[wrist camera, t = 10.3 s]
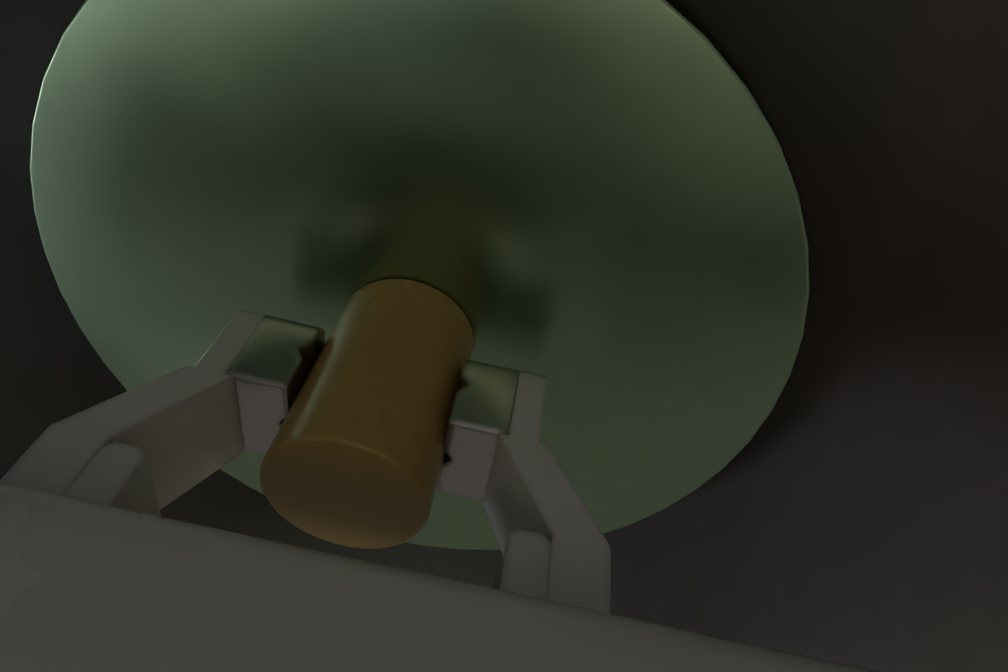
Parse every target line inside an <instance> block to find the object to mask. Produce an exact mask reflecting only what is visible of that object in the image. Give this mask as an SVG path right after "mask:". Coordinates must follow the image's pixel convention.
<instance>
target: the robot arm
mask: <svg viewBox="0 0 1008 672" xmlns="http://www.w3.org/2000/svg"><path fill="white" fill-rule="evenodd" d="M324 345H325V331H324V330H323V329H322V328H319V327H315V326H311V325H307V324H303V323H299V322H294V321H290V320H286V319H282V318H278V317H274V316H270V315H269V316H267V315H263V314H259V313H255V312H251V311H246V310H242V309H241V310H239V311H238V312H236V313H234V314H233V316H232V317H231V318H230V320H229V321H228V322H227V324H226V325H225V326H224V328H223V329H222V330H221V332H220V333H219V334H218V336H217V337H216V338H215V340H214V341H213V342H212V344H211V345H210V346H209V348H208V349H207V350H206V352H205V353H204V354H203V356H202V357H201V358H200V360H199V361H198V362H197V364H196V365H195V366H194V367H189V366H184V367H182V368H179V369H177V370H175V371H172V372H170V373H168V374H166V375H163V376H161V377H159V378H156V379H154V380H152V381H150V382H147V383H145V384H143V385H140V386H138V387H136V388H134V389H131V390H129V391H127V392H124V393H122V394H120V395H118V396H115V397H113V398H111V399H108V400H106V401H104V402H102V403H99V404H97V405H95V406H92V407H90V408H88V409H86V410H83V411H81V412H79V413H76V414H74V415H72V416H70V417H67V418H65V419H63V420H60V421H58V422H56V423H54V424H51V425H49V427H48V428H47V429H46V430H45V431H44V432H43V433H42V434H41V435H40V436H39V438H38V439H37V440H36V441H35V442H34V443H33V444H32V445H31V446H30V447H29V449H28V450H27V451H26V452H25V453H24V454H23V455H22V456H21V457H20V458H19V459H18V461H17V462H16V463H15V464H14V465H13V466H12V467H11V468H10V469H9V470H8V472H7V473H6V474H5V475H4V476H3V477H2V478H1V479H0V672H878V671H874V670H869V669H864V668H860V667H855V666H850V665H846V664H841V663H837V662H832V661H827V660H823V659H818V658H813V657H809V656H804V655H800V654H795V653H790V652H786V651H781V650H776V649H772V648H767V647H763V646H758V645H753V644H749V643H744V642H739V641H735V640H730V639H726V638H721V637H716V636H712V635H707V634H702V633H698V632H693V631H688V630H684V629H679V628H675V627H670V626H665V625H661V624H656V623H651V622H647V621H642V620H638V619H633V618H628V617H624V616H619V615H614V614H610V587H611V547H610V545H609V543H608V542H607V540H606V538H605V537H604V535H603V534H602V532H601V530H600V529H599V527H598V525H597V524H596V522H595V520H594V519H593V517H592V515H591V514H590V512H589V511H588V509H587V507H586V506H585V504H584V502H583V501H582V499H581V497H580V496H579V494H578V493H577V491H576V489H575V488H574V486H573V484H572V483H571V481H570V479H569V478H568V476H567V475H566V473H565V471H564V470H563V468H562V466H561V465H560V463H559V461H558V460H557V458H556V456H555V455H554V453H553V452H552V450H551V448H550V447H549V445H548V444H545V443H541V442H540V439H541V430H542V422H543V414H544V405H545V397H546V388H547V380H548V379H547V376H546V375H542V374H537V373H532V372H527V371H522V370H520V371H519V370H515V369H510V368H506V367H501V366H496V365H491V364H486V363H482V362H477V361H472V360H467V359H466V360H465V363H464V366H463V370H462V373H461V378H460V384H459V389H458V391H457V392H456V395H455V399H454V403H453V407H452V410H451V414H450V418H449V422H448V428H447V433H446V439H445V444H444V449H445V451H446V453H445V457H444V461H443V464H442V468H441V472H440V476H439V481H438V488H437V490H438V491H443V492H447V493H451V494H455V495H459V496H463V497H467V498H471V499H475V500H480V501H483V503H482V504H483V506H484V509H485V511H486V514H487V516H488V519H489V521H490V524H491V526H492V529H493V531H494V534H495V537H496V539H497V542H498V544H499V547H500V549H501V552H502V554H503V555H502V558H501V562H500V565H499V568H498V571H497V575H496V578H495V581H494V584H493V588H489V587H485V586H480V585H475V584H471V583H466V582H461V581H457V580H452V579H447V578H443V577H438V576H433V575H429V574H424V573H419V572H415V571H410V570H405V569H401V568H396V567H391V566H387V565H382V564H378V563H373V562H368V561H364V560H359V559H354V558H350V557H345V556H340V555H336V554H331V553H326V552H322V551H317V550H313V549H308V548H303V547H299V546H294V545H289V544H285V543H280V542H276V541H271V540H266V539H262V538H257V537H252V536H248V535H243V534H239V533H234V532H229V531H225V530H220V529H215V528H211V527H206V526H202V525H197V524H192V523H188V522H183V521H178V520H174V519H169V518H165V517H162V516H161V512H160V510H161V509H162V508H164V507H165V506H167V505H168V504H169V503H171V502H172V501H174V500H175V499H177V498H178V497H180V496H181V495H182V494H184V493H185V492H187V491H188V490H190V489H191V488H193V487H194V486H195V485H197V484H198V483H200V482H201V481H203V480H204V479H205V478H207V477H208V476H210V475H211V474H213V473H214V472H216V471H217V470H218V469H220V468H221V467H223V466H224V465H226V464H227V463H229V462H230V461H231V460H233V459H234V458H236V457H237V456H239V455H240V454H242V453H243V450H248V451H253V452H259V453H264V454H266V453H267V451H268V449H269V447H270V446H271V444H272V442H273V440H274V438H275V436H276V434H277V433H278V431H279V429H280V427H281V425H282V423H283V421H284V420H285V418H286V416H287V414H288V412H289V410H290V408H291V406H292V405H293V403H294V401H295V399H296V397H297V395H298V393H299V392H300V390H301V388H302V386H303V384H304V382H305V380H306V379H307V377H308V375H309V373H310V371H311V369H312V367H313V365H314V364H315V362H316V360H317V358H318V356H319V354H320V352H321V351H322V349H323V347H324Z"/></svg>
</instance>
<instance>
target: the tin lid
mask: <svg viewBox="0 0 1008 672" xmlns="http://www.w3.org/2000/svg"><path fill="white" fill-rule="evenodd" d="M29 173H30V182H31V191H32V201H33V210H34V214H35V218H36V222H37V226H38V230H39V234H40V238H41V242H42V246H43V250H44V253H45V256H46V258H47V261H48V263H49V266H50V268H51V271H52V273H53V276H54V278H55V281H56V283H57V286H58V288H59V291H60V293H61V295H62V297H63V299H64V300H65V302H66V304H67V306H68V308H69V310H70V311H71V313H72V315H73V317H74V319H75V321H76V323H77V324H78V326H79V328H80V330H81V331H82V333H83V334H84V335H85V337H86V338H87V340H88V341H89V343H90V344H91V346H92V347H93V349H94V350H95V351H96V353H97V354H98V356H99V357H100V359H101V360H102V362H103V363H104V364H105V365H106V367H107V368H108V369H109V370H110V371H111V372H112V374H113V375H114V376H115V377H116V378H117V380H118V381H119V382H120V383H121V384H122V386H123V387H124V388H125V389H126V390H127V391H129V390H131V389H134V388H136V387H138V386H140V385H143V384H145V383H147V382H150V381H152V380H154V379H156V378H159V377H161V376H163V375H166V374H168V373H170V372H172V371H175V370H177V369H179V368H182V367H184V366H189V367H194V366H195V365H196V364H197V362H198V361H199V360H200V358H201V357H202V356H203V354H204V353H205V352H206V350H207V349H208V348H209V346H210V345H211V344H212V342H213V341H214V340H215V338H216V337H217V336H218V334H219V333H220V332H221V330H222V329H223V328H224V326H225V325H226V324H227V322H228V321H229V320H230V318H231V317H232V316H233V314H234V313H236V312H238V311H239V310H241V309H242V310H246V311H251V312H255V313H259V314H263V315H267V316H269V315H270V316H274V317H278V318H282V319H286V320H290V321H294V322H299V323H303V324H307V325H311V326H315V327H319V328H322V329H323V330H324V331H325V345H324V347H323V349H322V351H321V352H320V354H319V356H318V358H317V360H316V362H315V364H314V365H313V367H312V369H311V371H310V373H309V375H308V377H307V379H306V380H305V382H304V384H303V386H302V388H301V390H300V392H299V393H298V395H297V397H296V399H295V401H294V403H293V405H292V406H291V408H290V410H289V412H288V414H287V416H286V418H285V420H284V421H283V423H282V425H281V427H280V429H279V431H278V433H277V434H276V436H275V438H274V440H273V442H272V444H271V446H270V447H269V449H268V451H267V453H266V454H264V453H259V452H253V451H248V450H243V453H242V454H240V455H239V456H237V457H236V458H234V459H233V460H231V461H230V462H229V463H227V464H226V465H224V466H223V467H221V468H220V470H222V471H223V472H225V473H227V474H228V475H230V476H232V477H233V478H235V479H237V480H238V481H240V482H242V483H243V484H245V485H247V486H248V487H250V488H252V489H254V490H256V491H258V492H260V493H262V494H264V495H265V496H266V498H267V500H268V501H269V503H270V504H271V505H272V506H273V508H274V509H275V510H276V511H277V512H278V513H279V514H280V515H281V516H283V517H284V518H285V519H286V520H287V521H289V522H290V523H292V524H293V525H295V526H296V527H298V528H300V529H301V530H303V531H305V532H307V533H309V534H311V535H313V536H315V537H318V538H320V539H323V540H326V541H329V542H332V543H335V544H339V545H343V546H349V547H356V548H385V547H391V546H395V545H399V544H401V543H404V542H405V543H410V544H416V545H421V546H430V547H439V548H449V549H459V550H501V549H500V547H499V544H498V542H497V539H496V537H495V534H494V531H493V529H492V526H491V524H490V521H489V519H488V516H487V514H486V511H485V509H484V506H483V504H482V503H483V501H480V500H475V499H471V498H467V497H463V496H459V495H455V494H451V493H447V492H443V491H438V490H437V488H438V481H439V476H440V472H441V468H442V464H443V461H444V457H445V453H446V451H445V449H444V444H445V439H446V433H447V428H448V422H449V418H450V414H451V410H452V407H453V403H454V399H455V395H456V392H457V391H458V389H459V384H460V378H461V373H462V370H463V366H464V363H465V360H466V359H467V360H472V361H477V362H482V363H486V364H491V365H496V366H501V367H506V368H510V369H515V370H519V371H520V370H522V371H527V372H532V373H537V374H542V375H546V376H547V379H548V380H547V388H546V397H545V405H544V414H543V422H542V430H541V439H540V442H541V443H545V444H548V445H549V447H550V448H551V450H552V452H553V453H554V455H555V456H556V458H557V460H558V461H559V463H560V465H561V466H562V468H563V470H564V471H565V473H566V475H567V476H568V478H569V479H570V481H571V483H572V484H573V486H574V488H575V489H576V491H577V493H578V494H579V496H580V497H581V499H582V501H583V502H584V504H585V506H586V507H587V509H588V511H589V512H590V514H591V515H592V517H593V519H594V520H595V522H596V524H597V525H598V527H599V529H600V530H601V532H602V534H604V533H607V532H610V531H613V530H616V529H619V528H622V527H625V526H628V525H631V524H634V523H636V522H638V521H640V520H642V519H644V518H647V517H649V516H651V515H653V514H655V513H658V512H660V511H662V510H664V509H666V508H667V507H669V506H671V505H672V504H674V503H676V502H677V501H679V500H681V499H682V498H684V497H686V496H687V495H689V494H691V493H692V492H694V491H696V490H697V489H698V488H699V487H701V486H702V485H703V484H704V483H706V482H707V481H708V480H710V479H711V478H712V477H713V476H715V475H716V474H717V473H718V472H720V471H721V470H722V469H724V468H725V467H726V466H727V464H728V463H729V462H730V461H731V460H732V459H733V458H734V457H735V456H736V455H737V454H738V453H739V452H740V451H741V450H742V449H743V448H744V447H745V446H746V445H747V444H748V443H749V442H750V441H751V439H752V438H753V436H754V435H755V434H756V432H757V431H758V430H759V428H760V427H761V425H762V424H763V423H764V421H765V420H766V419H767V417H768V416H769V415H770V413H771V412H772V410H773V408H774V406H775V404H776V402H777V400H778V399H779V397H780V395H781V393H782V391H783V389H784V387H785V385H786V383H787V381H788V379H789V377H790V375H791V372H792V369H793V366H794V363H795V360H796V357H797V354H798V350H799V347H800V344H801V341H802V338H803V335H804V329H805V322H806V316H807V309H808V302H809V295H810V262H809V240H808V235H807V230H806V225H805V220H804V215H803V210H802V205H801V200H800V195H799V191H798V188H797V185H796V183H795V180H794V177H793V175H792V172H791V169H790V167H789V164H788V162H787V159H786V156H785V154H784V151H783V148H782V146H781V143H780V140H779V138H778V136H777V134H776V132H775V129H774V127H773V126H772V124H771V122H770V120H769V119H768V117H767V115H766V113H765V112H764V110H763V108H762V106H761V105H760V103H759V101H758V100H757V98H756V96H755V94H754V93H753V91H752V89H751V87H750V86H749V84H748V82H747V81H746V79H745V77H744V75H743V74H742V73H741V72H740V71H739V69H738V68H737V67H736V66H735V64H734V63H733V62H732V61H731V59H730V58H729V57H728V56H727V54H726V53H725V52H724V51H723V49H722V48H721V47H720V46H719V45H718V43H717V42H716V41H715V40H714V38H713V37H712V36H711V35H710V33H709V32H708V31H707V30H706V28H705V27H704V26H703V25H702V24H701V23H700V22H699V21H697V20H696V19H695V18H694V17H693V16H692V15H691V14H690V13H689V12H688V11H686V10H685V9H684V8H683V7H682V6H681V5H680V4H679V3H678V2H677V1H676V0H84V1H83V2H82V3H81V5H80V6H79V8H78V9H77V10H76V12H75V13H74V15H73V16H72V18H71V19H70V20H69V22H68V23H67V25H66V26H65V28H64V29H63V30H62V32H61V35H60V37H59V39H58V41H57V44H56V46H55V48H54V51H53V53H52V55H51V57H50V60H49V62H48V64H47V66H46V69H45V71H44V73H43V75H42V78H41V83H40V87H39V91H38V96H37V100H36V104H35V109H34V113H33V117H32V122H31V138H30V157H29Z"/></svg>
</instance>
